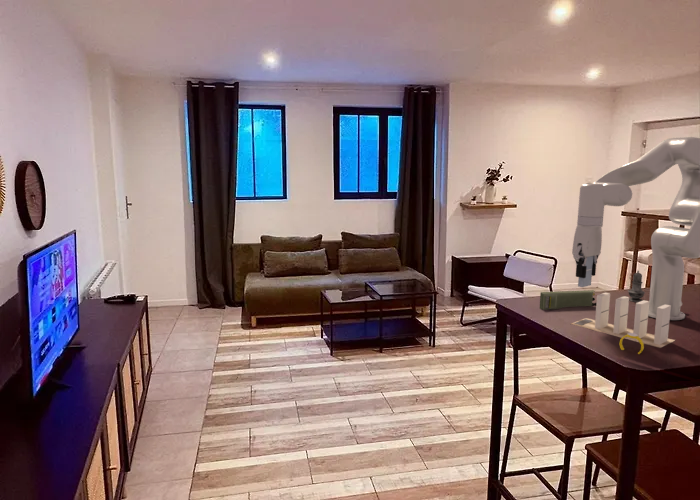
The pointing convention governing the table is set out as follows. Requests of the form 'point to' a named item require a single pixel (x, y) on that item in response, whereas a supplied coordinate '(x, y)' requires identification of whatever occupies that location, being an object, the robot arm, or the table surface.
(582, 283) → the domino
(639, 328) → the domino
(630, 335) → the yellow wristwatch
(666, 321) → the domino
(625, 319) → the domino
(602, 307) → the domino
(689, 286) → the table surface
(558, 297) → the handheld radio
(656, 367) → the table surface
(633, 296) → the dark grey tall piece
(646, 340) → the board
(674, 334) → the table surface
